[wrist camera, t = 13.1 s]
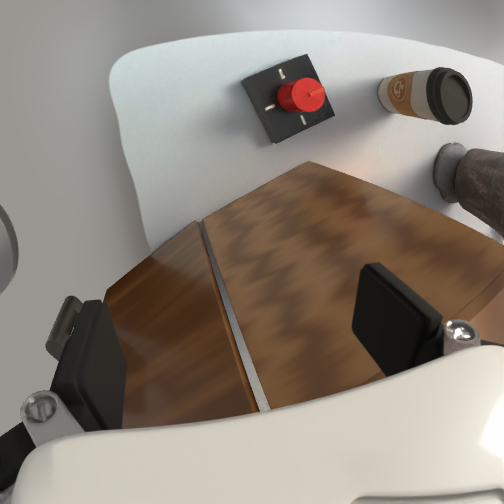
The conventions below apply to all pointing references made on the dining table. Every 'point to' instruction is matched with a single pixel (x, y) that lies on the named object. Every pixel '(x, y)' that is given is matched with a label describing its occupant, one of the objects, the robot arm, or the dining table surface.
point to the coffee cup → (428, 95)
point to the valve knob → (301, 95)
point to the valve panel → (268, 108)
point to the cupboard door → (171, 338)
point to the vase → (473, 182)
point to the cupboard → (340, 274)
